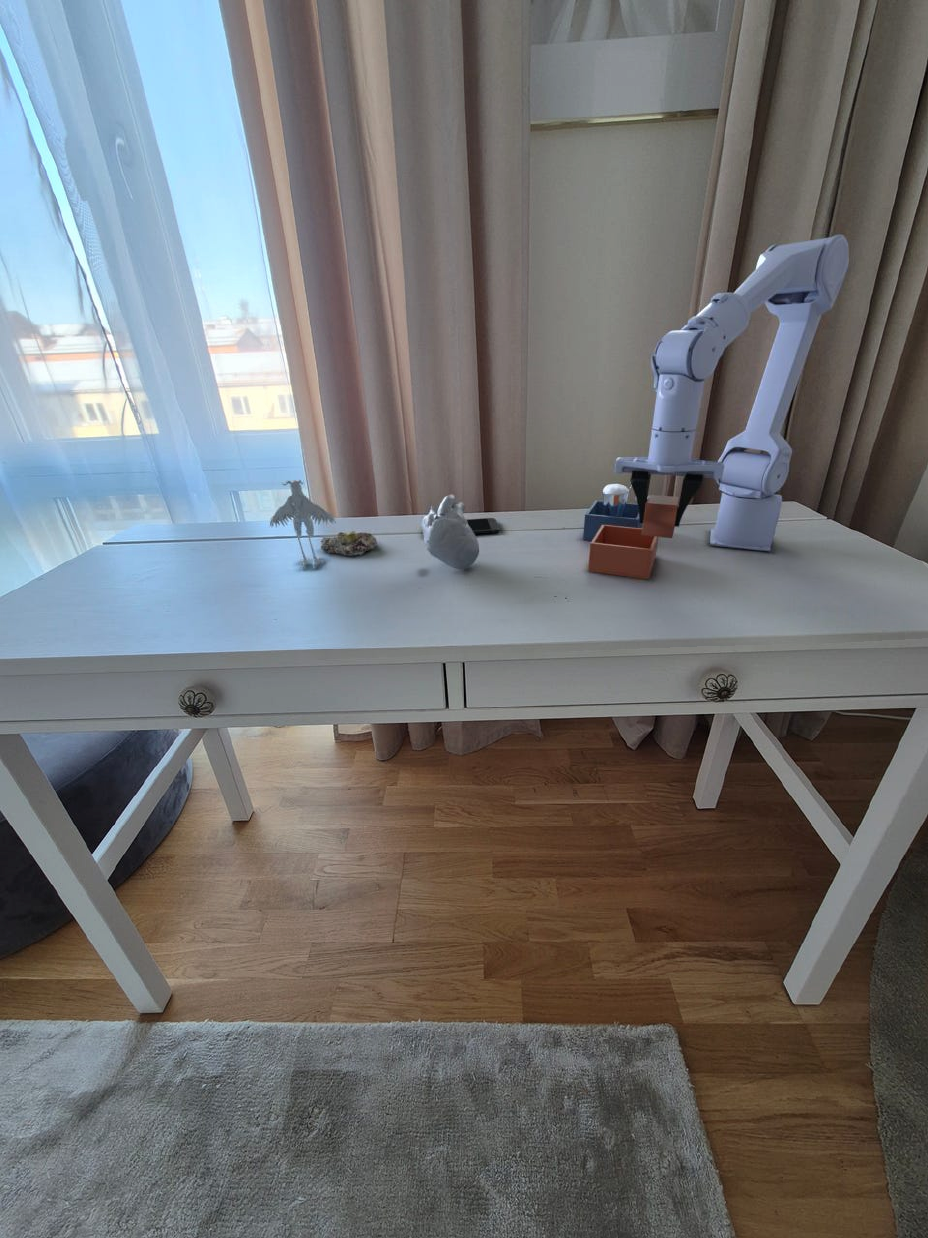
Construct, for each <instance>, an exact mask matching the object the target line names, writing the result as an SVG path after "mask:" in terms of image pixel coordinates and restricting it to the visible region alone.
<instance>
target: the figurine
mask: <svg viewBox="0 0 928 1238" xmlns="http://www.w3.org/2000/svg"><path fill="white" fill-rule="evenodd" d="M288 484H289V488H290V493H291V495H289V496H288V497H287V498H286V500H285V502H284V503H283V504H282V505H281V506H279V507H278V508H277V509H276V511H275V513H274V514H273V515H272V516H271V517H270V520H269V527H270V528H271V529H272V528H273V527H274V525H275V528H276V529H277V528H278V527H280V526H281V525H282V526H283V527H286V526H288V523H289V522H290V521H292V525H293V529H294V532H295V535H296V537H297V541H298V543H299V547H300V551H301V555H302V558H301V559H300V560H299V562H300V563H302V570H303V571H304V570H305V567H306V566H307V564H308V563H309V558H307V557H306V555H305V552H304V549H303V546H302V541H301V538H302V533H303V532H302V526H303V524H304V526H305V528H306V529H305V532H306V534H307V537H308V541H309V546H310V549H311V553H312V559H313V560H312V563H313V564H312V566H313V569H314V570H315V569H316V565H317V563H319V562H322V561H325V558H323V557H317V556H316V553H315V550H314V547H313V544H312V540H311V538H313V537H314V535H315V524H316V523H317V524H318V525H319V526H320V524H321V521H322V524H324V523H326V525H328V522H329V523H331V524H334V523H335V524H337V522H336V521H335V520H336V519H335V517H334V515H333V514H332V513H331V512H329V511H327V510H325V509H324V508H323V507H321V506H320V505H319V504H316V503H314V502H313V501H312V500H311V499H310V498H309V497H308V496H306V495H305V494H304V492H303V489H302V485H304V482H303V481H302V480H301V479H298V480H297V479H294V480H286V481H285V483H283V482H281V485H283V486H287V485H288ZM289 520H290V521H289ZM287 522H288V523H287ZM285 525H286V526H285Z"/></svg>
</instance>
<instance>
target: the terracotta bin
mask: <svg viewBox="0 0 928 1238" xmlns="http://www.w3.org/2000/svg"><path fill="white" fill-rule="evenodd" d="M641 534H642V528H632V527H622V526H612V525H602V526H601V527H600V529H599V530H598V532H597V534H596V535H595V537H594V539H593V540H592V541H591V542H590V544H589V554H588V567H587V572H590V573H591V572H592V573H599V574H606V575H612V576H620V577H627V578H633V579H642V580H649V579H650V577H651V573H652V570H653V567H654V563H655V561H656V558H657V557H656V556H657V550H658V544H659V538H660V537H656V536H646V535H641Z"/></svg>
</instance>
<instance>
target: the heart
mask: <svg viewBox="0 0 928 1238" xmlns="http://www.w3.org/2000/svg"><path fill="white" fill-rule="evenodd" d="M465 508H466V505H465V504H464V502H463V501H459V502H457V500H456V497H455V495H454V494H453V493H451V494H448V495H447V496H444V498H443V500H442V501H441V502H440V504H439V506H438V507H435V506H432V505H431V506H430V511H429V513H428V514H427V515H425V516H424V517H423V519H422V522H421V530H422V534H423V542H424V545H425V548H426V550H427V551H428V553H429V554H430V555H431V556H432V557H434V558H435V559H437V560H439V561H441V562H443V563H445V564H446V565H448V566H449V567H450V568H452V569H456V570H467V569H469V568H470V567H471V566H472V565H473V564H474V563H475V562H476V561H477V559H478V558H479V554H480V544H479V541H478V539H477V536H476V534H474V533H473V531H472V529H471V528H470V526H469V525H468V522H467V518H465V516H464V510H465Z"/></svg>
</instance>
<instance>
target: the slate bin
mask: <svg viewBox="0 0 928 1238" xmlns="http://www.w3.org/2000/svg"><path fill="white" fill-rule="evenodd" d="M602 525H612V526H622V527H632V528H642V527H643V523H639V509H638V504H637V503H632V502H631V503H630V502H626V506H625V511H624V516H623V517H614V516H603V500H595V501H594V502H593V503H592V505H591V506H590V507H589V508H588V510H586V513H585V514H584V523H583V535H582V540H583V541H589V542H590V541H591V542H592V540H593V539H594V537H595V535H596V534H597V532H598V530H599V529H600V527H601V526H602Z"/></svg>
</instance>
